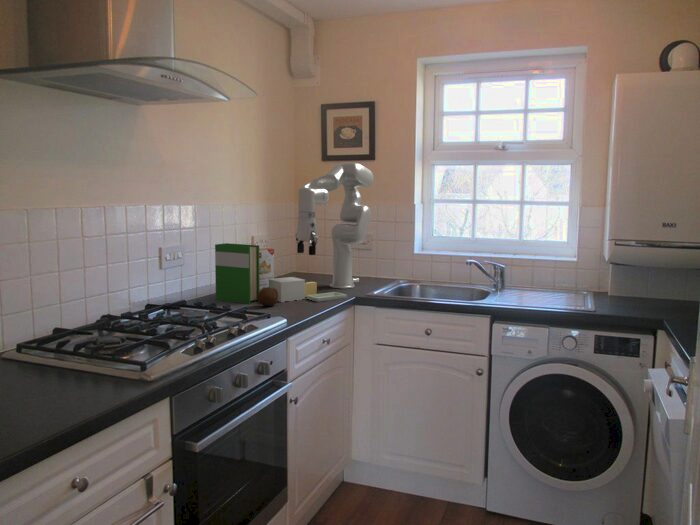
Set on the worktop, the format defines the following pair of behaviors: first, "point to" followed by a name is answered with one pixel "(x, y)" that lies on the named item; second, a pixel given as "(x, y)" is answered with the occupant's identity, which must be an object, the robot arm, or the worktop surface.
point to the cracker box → (265, 267)
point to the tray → (327, 297)
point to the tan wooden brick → (310, 288)
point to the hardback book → (237, 272)
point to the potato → (268, 296)
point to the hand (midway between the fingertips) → (306, 253)
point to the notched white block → (288, 288)
